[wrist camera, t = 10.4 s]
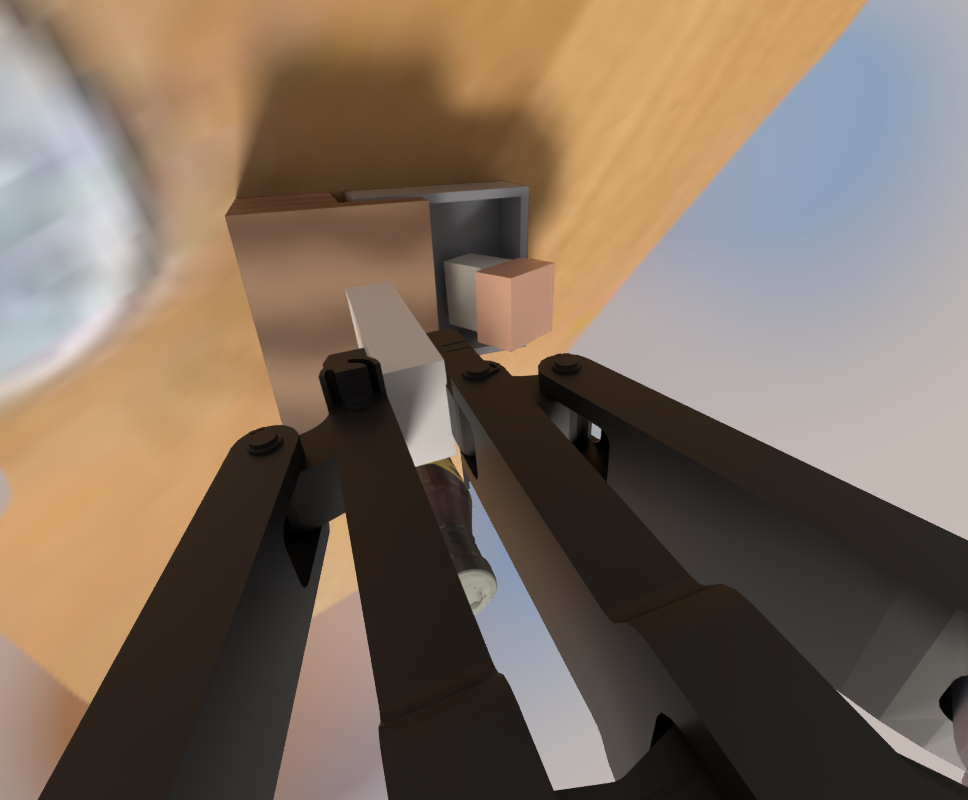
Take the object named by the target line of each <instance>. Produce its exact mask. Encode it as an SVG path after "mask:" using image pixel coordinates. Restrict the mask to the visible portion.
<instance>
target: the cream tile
mask: <svg viewBox="0 0 968 800" xmlns="http://www.w3.org/2000/svg"><path fill="white" fill-rule="evenodd" d="M511 260H512V259H505V258H499V257H492V256H486V255H479V254H473V253H469V254H466V255H463V256H459V257H456V258H453V259H450V260H447V261H444V271H445V281H446V292H447V303H448V314H449V324H452V325H455V326H459V327H462V328H466V329H470V330H473V331H477V308H476V283H475V272H476V271H479V270H482V269H486V268H489V267H492V266H495V265H498V264H501V263H504V262H507V261H511Z"/></svg>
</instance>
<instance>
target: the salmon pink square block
mask: <svg viewBox="0 0 968 800" xmlns="http://www.w3.org/2000/svg"><path fill="white" fill-rule="evenodd" d="M554 266H555V263H553V262H547V261H540V260H533V259H527V258H517V259H514V260H511V261H507V262H504V263H501V264H498V265H495V266H492V267H489V268H486V269H482V270H479V271H476V272H475V283H476V308H477V333H478V342H479V343H483V344H486V345H490V346H493V347H496V348H500V349H503V350H507V351H510V352H512V351H514V350H516V349H518V348H520V347H521V346H523V345H525V344H527V343H529V342H531V341H533V340H535V339H537V338H539V337H540V336H542V335H544V334H546V333H548V332H550V331H552V317H553V292H554Z"/></svg>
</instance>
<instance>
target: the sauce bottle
mask: <svg viewBox="0 0 968 800" xmlns="http://www.w3.org/2000/svg"><path fill="white" fill-rule="evenodd" d="M416 470H417V472H418V475H419V477H420V480H421V482H422V485H423V487H424V490H425V492H426V495H427V497H428V500H429V503H430V505H431V508H432V510H433V513H434V515H435V518H436V520H437V523H438V525H439V528H440V530H441V533H442V535H443V538H444V540H445V543H446V546H447V548H448V551H449V553H450V556H451V558H452V561H453V563H454V566H455V568H456V571H457V573H458V576H459V578H460V581H461V583H462V586H463V589H464V591H465V594H466V596H467V599H468V601H469V604H470V606H471V609H472V611H473V614H474V615H476V614H477V613H479V612H480V611H481V610H483V609H484V608H485V607H486V606H487V605H488V603H489V602H490V601H491V599H493V597H494V595H495V593H496V589H497V581H496V578H495V575H494V573H493V571H492V569H491V566H490V564H489V563H488V562H487V560H486V559H484V558H483V557H482V556H481V554H480V551H479V550H478V548H477V546H476V544H475V538H474V537H473V535H472V499H471V496H470V493H469V491H468V489H467V490H465V484H464V481H463V480H462V478H461V476H460V475H459V473H458V471H457V469H456V468H455V466H454V464H453V462H452V460H451V459H450V457H448V458H445V459H441V460H438V461H434V462H431V463H427V464H424V465H420V466H417V467H416Z"/></svg>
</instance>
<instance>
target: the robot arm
mask: <svg viewBox="0 0 968 800" xmlns="http://www.w3.org/2000/svg"><path fill="white" fill-rule="evenodd" d="M345 291H346V295H347V299H348V304H349V308H350V312H351V317H352V321H353V325H354V329H355V334H356V338H357V342H358V347H359V349H355V350H350V351H345V352H341V353H336V354H331V355H328V357H327V358H326V360H325V361H324V363H323V364H322V365H323V369H322V370H321V371H320V373H319V376H318V378H319V381H320V384H321V388H322V391H323V395H324V398H325V402H326V405H327V408H328V413H329V414H328V416H327V418H326V419H325V420H324V421H323V422H322V423H320V424H319V425H318V426H316V427H315V428H313V429H311V430H309V431H307V432H305V433H302V434H300V435H299V434H298V432H297V431H296V430H295V429H294V428H292V427H289V426H285V425H273V426H268V427H262V428H259V429H256V430H253V431H251V432H249V433H248V434H246V435H245V436H243V437H242V438H240V439H239V440H238V441H237V442H236V443H235V444H234V445H233V446H232V448H231V449H230V451H229V453H228V455H227V457H226V458H225V460H224V462H223V464H222V466H221V467H220V469H219V471H218V473H217V475H216V477H215V478H214V480H213V482H212V484H211V486H210V487H209V489H208V491H207V493H206V495H205V497H204V498H203V500H202V502H201V504H200V506H199V507H198V509H197V511H196V513H195V515H194V517H193V518H192V520H191V522H190V524H189V526H188V527H187V529H186V531H185V533H184V535H183V537H182V538H181V540H180V542H179V544H178V546H177V547H176V549H175V551H174V553H173V555H172V557H171V558H170V560H169V562H168V564H167V566H166V567H165V569H164V571H163V573H162V575H161V577H160V578H159V580H158V582H157V584H156V586H155V587H154V589H153V591H152V593H151V595H150V597H149V598H148V600H147V602H146V604H145V606H144V607H143V609H142V611H141V613H140V615H139V617H138V618H137V620H136V622H135V624H134V626H133V627H132V629H131V631H130V633H129V635H128V637H127V638H126V640H125V642H124V644H123V646H122V647H121V649H120V651H119V653H118V655H117V657H116V658H115V660H114V662H113V664H112V666H111V667H110V669H109V671H108V673H107V675H106V677H105V678H104V680H103V682H102V684H101V686H100V687H99V689H98V691H97V693H96V695H95V697H94V698H93V700H92V702H91V704H90V706H89V708H88V709H87V711H86V713H85V715H84V717H83V718H82V720H81V722H80V724H79V726H78V728H77V729H76V731H75V733H74V735H73V737H72V738H71V740H70V742H69V744H68V746H67V747H66V749H65V751H64V753H63V755H62V757H61V759H60V760H59V762H58V764H57V766H56V767H55V769H54V771H53V773H52V775H51V777H50V779H49V780H48V782H47V784H46V786H45V788H44V789H43V791H42V793H41V795H40V797H39V798H38V800H273V798H274V793H275V789H276V784H277V779H278V775H279V770H280V765H281V760H282V756H283V751H284V746H285V741H286V736H287V731H288V727H289V722H290V718H291V713H292V708H293V703H294V698H295V693H296V689H297V684H298V679H299V675H300V670H301V665H302V661H303V656H304V651H305V646H306V642H307V637H308V632H309V627H310V622H311V618H312V613H313V608H314V604H315V599H316V594H317V589H318V585H319V580H320V575H321V570H322V566H323V561H324V556H325V551H326V546H327V542H328V537H329V532H330V530H329V521H331V520H333V519H334V518H336V517H338V516H340V515H342V514H343V513H345V512H346V518H347V524H348V529H349V535H350V541H351V547H352V553H353V558H354V564H355V570H356V576H357V582H358V588H359V593H360V598H361V605H362V611H363V617H364V622H365V628H366V634H367V640H368V646H369V651H370V657H371V663H372V669H373V675H374V680H375V686H376V692H377V698H378V704H379V710H380V720H381V722H380V725H379V741H380V749H381V756H382V763H383V769H384V775H385V781H386V787H387V793H388V800H968V540H966V539H964V538H961V537H959V536H957V535H955V534H953V533H951V532H949V531H947V530H945V529H943V528H941V527H939V526H936V525H934V524H932V523H930V522H928V521H926V520H924V519H922V518H920V517H918V516H915V515H913V514H911V513H909V512H907V511H905V510H903V509H901V508H899V507H897V506H895V505H893V504H890V503H888V502H886V501H884V500H882V499H880V498H878V497H876V496H874V495H872V494H870V493H868V492H865V491H863V490H861V489H859V488H857V487H855V486H853V485H851V484H849V483H847V482H845V481H842V480H840V479H838V478H836V477H834V476H832V475H830V474H827V473H826V472H824V471H822V470H819V469H817V468H815V467H813V466H811V465H809V464H807V463H805V462H803V461H800V460H799V459H797V458H794V457H792V456H790V455H788V454H786V453H784V452H782V451H780V450H778V449H776V448H774V447H772V446H769V445H767V444H765V443H763V442H761V441H759V440H757V439H755V438H753V437H751V436H749V435H746V434H744V433H742V432H740V431H738V430H736V429H734V428H732V427H730V426H728V425H726V424H724V423H721V422H719V421H717V420H715V419H713V418H711V417H709V416H707V415H705V414H703V413H701V412H698V411H696V410H694V409H692V408H690V407H688V406H686V405H684V404H682V403H680V402H678V401H675V400H673V399H671V398H669V397H667V396H665V395H663V394H661V393H659V392H657V391H655V390H653V389H650V388H648V387H646V386H644V385H642V384H640V383H638V382H636V381H634V380H632V379H630V378H627V377H625V376H623V375H621V374H619V373H617V372H615V371H613V370H611V369H609V368H606V367H604V366H602V365H600V364H598V363H596V362H594V361H592V360H590V359H588V358H585V357H582V356H579V355H573V354H569V353H563V354H556V355H554V356H550V357H547V358H546V359H544V360H542V361H541V362H540V364H539V365H538V375H531V376H511V375H510V373H509V372H508V371H507V370H506V369H505V368H504V367H503V366H502V365H500V364H499V363H496V362H492V361H484V360H483V359H482V358H481V357H480V356H479V355H478V354H477V352H476V351H475V350H474V349H473V348H472V347H471V345H470V344H469V343H468V342H467V341H466V339H465V338H464V337H463V336H462V335H461V333H459V332H456V331H454V330H452V329H449V328H447V329H442V330H438V331H433V332H428V333H425V331H424V330H423V329H422V327H421V326H420V324H419V323H418V321H417V320H416V318H415V317H414V315H413V314H412V312H411V311H410V309H409V308H408V306H407V305H406V304H405V302H404V301H403V299H402V298H401V296H400V295H399V293H398V292H397V290H396V289H395V287H394V286H393V284H392V283H391V282H390V281H386V282H381V283H375V284H370V285H364V286H359V287H353V288H348V289H345ZM592 423H593V424H595V425H597V426H598V427H599V428H601V439H597V438H595V437H594V436H592V435H591V428H592ZM455 440H456V442H457V444H458V446H459V448H460V453H461V461H462V469H463V476H464V484H465V490H467V489H469V488H470V487H469V481H470V482H471V484H472V485H473V487H474V489H475V491H476V493H477V495H478V497H479V499H480V501H481V503H482V505H483V507H484V509H485V510H486V512H487V514H488V516H489V518H490V520H491V522H492V524H493V526H494V528H495V530H496V531H497V533H498V535H499V537H500V539H501V541H502V543H503V545H504V547H505V549H506V551H507V553H508V555H509V557H510V558H511V560H512V562H513V564H514V566H515V568H516V570H517V572H518V574H519V576H520V578H521V579H522V581H523V583H524V585H525V587H526V589H527V591H528V593H529V595H530V597H531V599H532V601H533V602H534V604H535V606H536V608H537V610H538V612H539V614H540V616H541V618H542V620H543V622H544V624H545V626H546V628H547V629H548V631H549V633H550V635H551V637H552V639H553V641H554V642H555V645H556V647H557V649H558V651H559V652H560V654H561V656H562V658H563V660H564V662H565V664H566V666H567V668H568V670H569V672H570V673H571V676H572V677H573V679H574V681H575V683H576V685H577V687H578V689H579V691H580V693H581V695H582V696H583V698H584V700H585V702H586V704H587V706H588V708H589V710H590V712H591V714H592V716H593V718H594V720H595V722H596V724H597V726H598V729H599V731H600V734H601V736H602V740H603V744H604V748H605V752H606V755H607V759H608V762H609V765H610V768H611V770H612V773H613V776H614V778H615V782H611V783H605V784H599V785H591V786H584V787H577V788H570V789H564V790H557V791H554V790H553V788H552V785H551V783H550V781H549V778H548V776H547V773H546V771H545V768H544V766H543V763H542V761H541V759H540V756H539V754H538V751H537V749H536V746H535V744H534V742H533V739H532V737H531V734H530V732H529V729H528V727H527V724H526V722H525V720H524V717H523V715H522V712H521V710H520V707H519V705H518V703H517V700H516V698H515V696H514V694H513V691H512V689H511V687H510V685H509V683H508V681H507V680H506V678H505V677H504V675H503V674H501V673H498V671H497V670H496V668H495V666H494V664H493V662H492V659H491V657H490V654H489V652H488V649H487V647H486V644H485V642H484V639H483V637H482V634H481V632H480V629H479V627H478V624H477V622H476V619H475V616H474V614H473V611H472V609H471V606H470V604H469V601H468V599H467V596H466V594H465V591H464V589H463V586H462V583H461V581H460V578H459V576H458V573H457V571H456V568H455V566H454V563H453V561H452V558H451V556H450V553H449V551H448V548H447V546H446V543H445V540H444V538H443V535H442V533H441V530H440V528H439V525H438V523H437V520H436V518H435V515H434V513H433V510H432V508H431V505H430V503H429V500H428V497H427V495H426V492H425V490H424V487H423V485H422V482H421V480H420V477H419V475H418V472H417V470H416V467H417V466H420V465H424V464H427V463H431V462H434V461H438V460H441V459H445V458H448V457H452V456H455V455H457V454H456V447H455ZM835 689H836V690H838V691H839V692H840V693H842V694H843V695H844V696H846V697H847V698H849V699H850V700H851V701H853V702H854V703H856V704H857V705H858V706H860V707H861V708H862V709H864V710H865V711H867V712H868V713H869V714H871V715H872V716H873V717H875V718H876V719H878V720H879V721H881V722H882V723H884V724H886V725H887V726H889V727H890V728H892V729H893V730H895V731H897V732H898V733H900V734H901V735H903V736H905V737H906V738H908V739H909V740H911V741H913V742H914V743H916V744H917V745H919V746H921V747H922V748H924V749H926V750H927V751H929V752H931V753H933V754H935V755H937V756H939V757H940V758H942V759H944V760H946V761H948V762H950V763H951V764H953V765H955V766H957V767H959V768H961V769H962V770H964V771H966V772H965V773H964V777H963V779H962V784H960V783H958V782H956V781H954V780H952V779H950V778H948V777H946V776H944V775H942V774H940V773H938V772H936V771H934V770H931V769H929V768H927V767H925V766H923V765H921V764H919V763H917V762H915V761H913V760H911V759H909V758H907V757H905V756H903V755H901V754H899V753H897V752H895V750H894V749H893V748H892V747H891V746H890V745H889V744H888V743H887V742H886V741H885V740H884V739H883V738H882V737H881V736H880V735H879V734H878V733H877V732H876V731H875V730H874V729H873V728H872V727H871V726H870V725H869V724H868V723H867V721H866V720H865V719H864V718H863V717H862V716H860V714H859V713H858V712H857V711H856V710H855V709H854V708H853V707H852V706H851V705H850V704H849V703H848V702H847V701H846V700H845V699H844V698H843V697H842V696H841V695H840V694H839V693H838V692H837V691H836V690H835Z"/></svg>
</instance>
